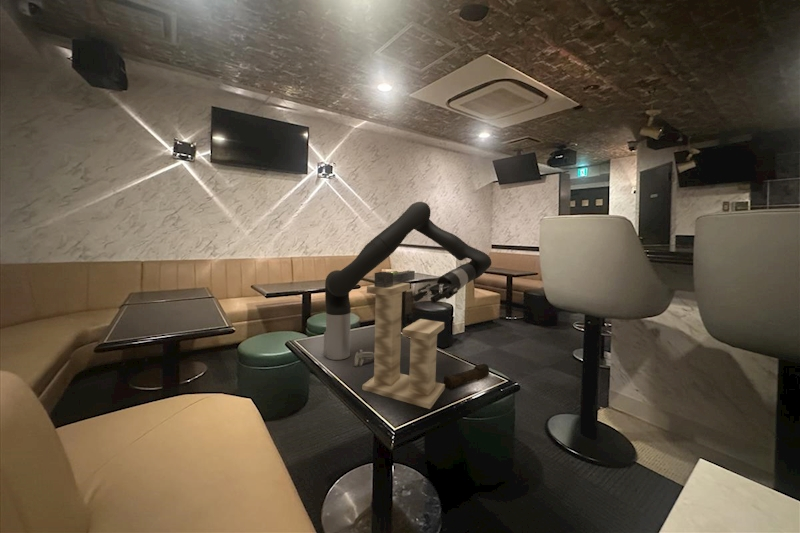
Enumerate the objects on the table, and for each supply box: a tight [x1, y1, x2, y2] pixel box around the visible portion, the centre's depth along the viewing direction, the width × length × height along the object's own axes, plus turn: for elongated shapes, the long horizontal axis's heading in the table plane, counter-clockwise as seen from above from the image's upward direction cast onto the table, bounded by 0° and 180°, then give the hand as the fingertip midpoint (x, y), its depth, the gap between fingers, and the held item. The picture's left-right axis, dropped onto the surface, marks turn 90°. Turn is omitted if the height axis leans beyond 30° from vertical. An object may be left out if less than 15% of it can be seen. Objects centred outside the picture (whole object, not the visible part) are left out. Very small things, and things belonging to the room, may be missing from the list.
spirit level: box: [373, 269, 416, 288], centre depth 99 cm, size 4×22×4 cm, turn 154°
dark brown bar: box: [442, 363, 490, 390], centre depth 100 cm, size 19×4×5 cm, turn 119°
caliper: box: [354, 349, 375, 368], centre depth 116 cm, size 20×1×6 cm, turn 128°
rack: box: [361, 282, 446, 410], centre depth 93 cm, size 22×13×32 cm, turn 64°
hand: (422, 299), depth 103 cm, fingers open, 8 cm apart
